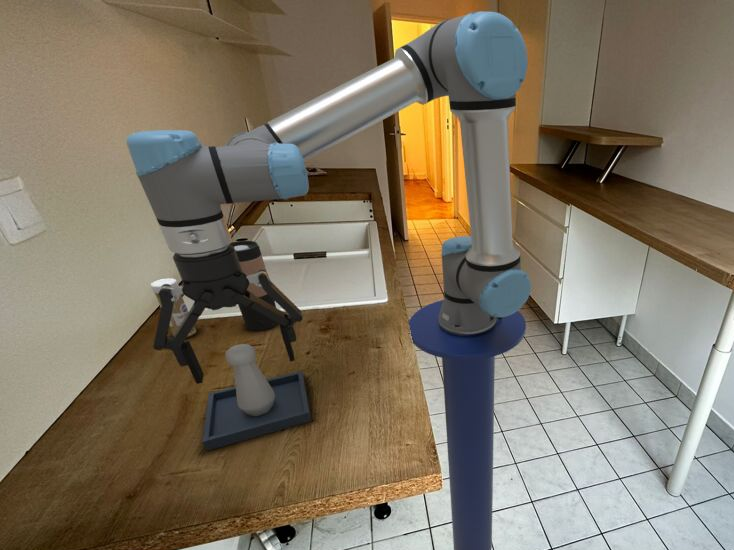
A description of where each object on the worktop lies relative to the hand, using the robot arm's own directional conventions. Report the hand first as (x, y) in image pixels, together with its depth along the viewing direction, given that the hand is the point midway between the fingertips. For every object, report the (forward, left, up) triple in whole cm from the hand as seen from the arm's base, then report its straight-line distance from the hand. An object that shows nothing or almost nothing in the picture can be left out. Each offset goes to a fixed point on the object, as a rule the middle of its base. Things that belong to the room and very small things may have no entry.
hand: (248, 367), depth 70 cm
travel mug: (-1, -35, -10) cm, 36 cm away
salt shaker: (0, 0, -9) cm, 9 cm away
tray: (0, 0, -10) cm, 10 cm away
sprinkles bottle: (+15, -37, -10) cm, 41 cm away
